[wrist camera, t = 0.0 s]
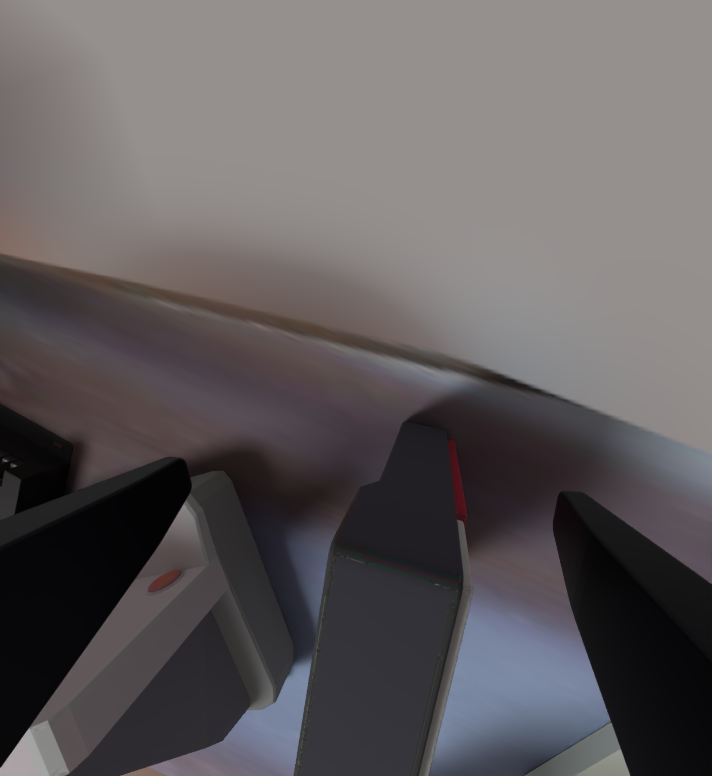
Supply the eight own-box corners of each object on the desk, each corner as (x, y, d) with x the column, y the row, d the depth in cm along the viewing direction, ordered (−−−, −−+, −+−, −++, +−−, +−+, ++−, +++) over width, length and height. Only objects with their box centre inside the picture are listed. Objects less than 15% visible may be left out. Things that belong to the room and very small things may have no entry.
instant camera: (258, 462, 27) (48, 608, 12) (306, 701, 29) (176, 1066, 14) (52, 481, 32) (-268, 600, 17) (105, 683, 34) (-140, 939, 20)
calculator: (427, 577, 25) (415, 916, 10) (368, 560, 26) (280, 851, 11) (459, 430, 23) (499, 591, 8) (394, 417, 24) (328, 542, 9)
